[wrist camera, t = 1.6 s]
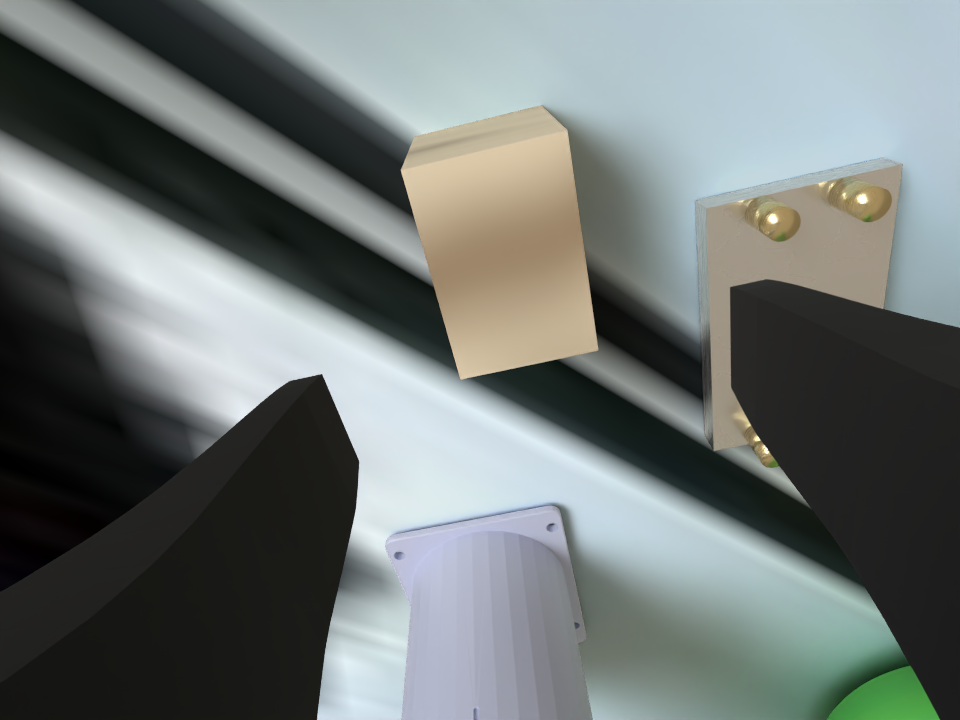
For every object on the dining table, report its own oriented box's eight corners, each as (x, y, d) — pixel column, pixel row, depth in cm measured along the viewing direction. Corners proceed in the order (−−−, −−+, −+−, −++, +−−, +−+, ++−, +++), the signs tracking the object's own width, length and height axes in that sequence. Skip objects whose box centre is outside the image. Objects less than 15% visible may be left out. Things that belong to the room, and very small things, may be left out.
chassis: (853, 406, 24) (892, 445, 22) (704, 435, 24) (728, 475, 22) (882, 157, 19) (937, 174, 17) (695, 200, 19) (725, 222, 17)
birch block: (569, 282, 21) (598, 350, 16) (460, 307, 21) (460, 379, 17) (541, 104, 18) (567, 130, 13) (414, 136, 18) (400, 170, 14)
